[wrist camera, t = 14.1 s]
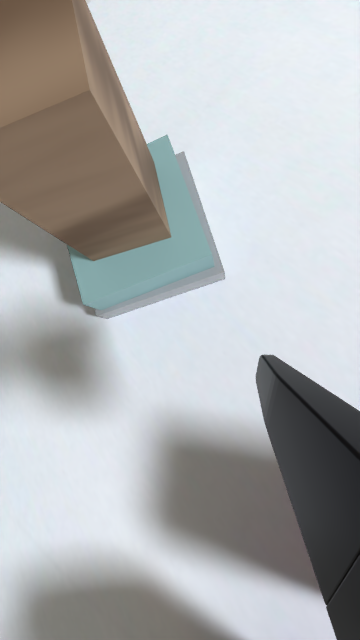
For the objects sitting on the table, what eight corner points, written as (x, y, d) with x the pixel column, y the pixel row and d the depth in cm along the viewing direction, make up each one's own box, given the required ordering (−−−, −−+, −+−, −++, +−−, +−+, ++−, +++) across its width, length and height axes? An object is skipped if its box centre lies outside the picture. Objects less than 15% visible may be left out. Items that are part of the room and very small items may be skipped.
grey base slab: (225, 280, 21) (224, 271, 19) (110, 319, 23) (96, 315, 20) (189, 172, 23) (183, 151, 21) (84, 215, 25) (68, 200, 22)
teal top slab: (214, 266, 19) (211, 253, 17) (101, 310, 20) (83, 304, 18) (175, 160, 21) (167, 134, 18) (72, 207, 22) (51, 189, 20)
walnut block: (171, 237, 17) (89, 90, 8) (93, 261, 18) (-70, 157, 8) (154, 161, 18) (60, -59, 8) (80, 188, 19) (-82, 17, 9)
